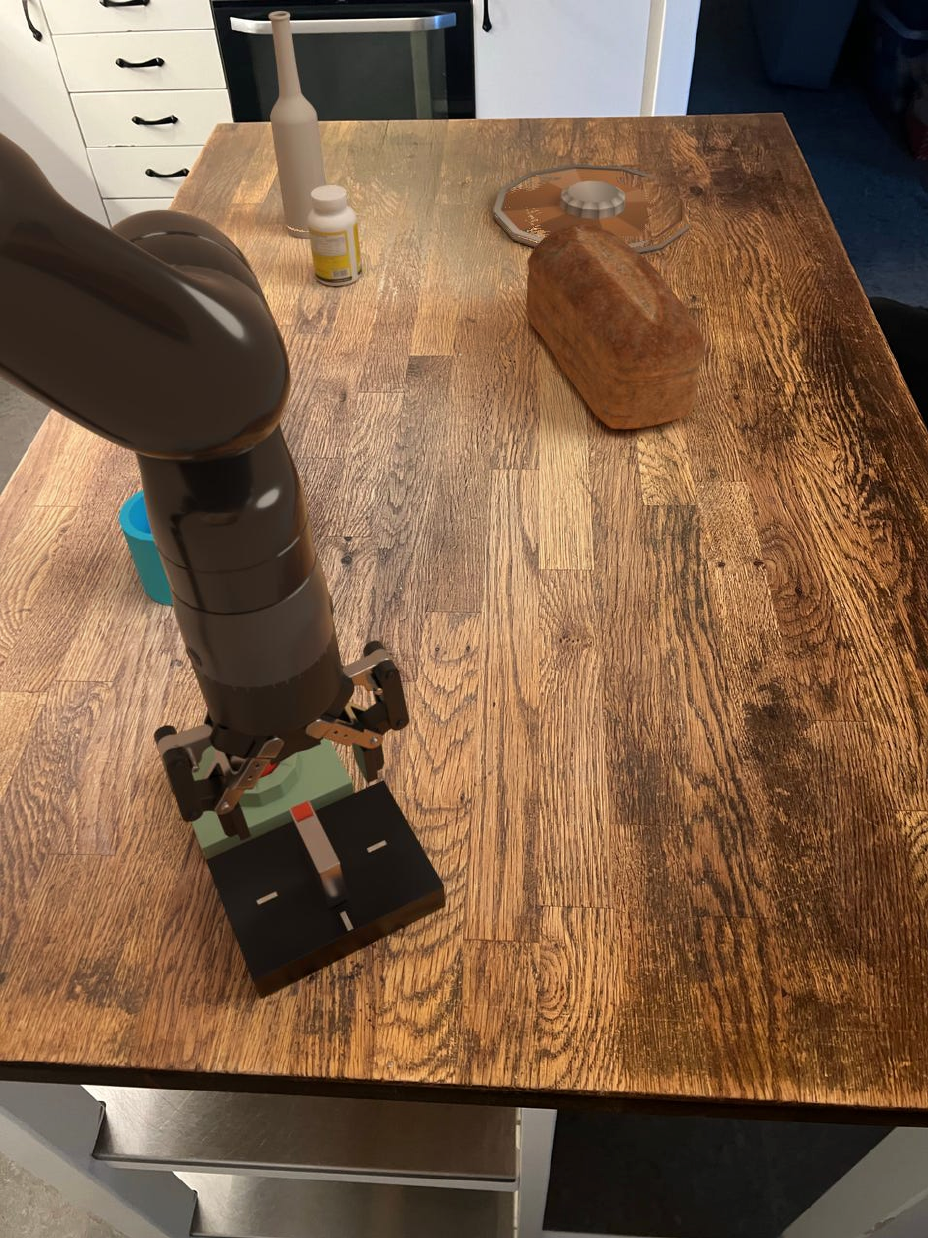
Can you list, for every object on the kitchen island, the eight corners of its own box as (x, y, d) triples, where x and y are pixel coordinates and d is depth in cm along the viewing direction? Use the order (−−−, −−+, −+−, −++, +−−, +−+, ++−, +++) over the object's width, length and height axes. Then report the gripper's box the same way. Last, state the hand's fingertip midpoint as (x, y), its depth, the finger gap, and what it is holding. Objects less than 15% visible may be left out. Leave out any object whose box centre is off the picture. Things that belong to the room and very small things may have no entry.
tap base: (260, 1000, 64) (252, 980, 62) (214, 880, 70) (204, 858, 68) (445, 906, 69) (444, 885, 66) (386, 801, 75) (383, 778, 73)
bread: (606, 449, 105) (618, 338, 95) (514, 312, 125) (516, 210, 115) (707, 428, 107) (729, 318, 97) (600, 297, 128) (610, 195, 118)
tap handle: (348, 899, 66) (340, 861, 62) (328, 909, 65) (318, 871, 62) (318, 837, 69) (308, 797, 65) (298, 846, 69) (287, 807, 65)
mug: (125, 594, 91) (100, 529, 85) (170, 539, 96) (149, 474, 90) (238, 623, 88) (220, 558, 82) (278, 565, 93) (264, 499, 87)
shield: (459, 215, 138) (535, 139, 156) (460, 237, 140) (535, 160, 159) (663, 253, 129) (717, 168, 148) (659, 276, 131) (714, 189, 150)
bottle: (278, 228, 144) (243, 13, 123) (313, 214, 147) (285, 3, 126) (304, 242, 140) (273, 24, 120) (340, 228, 143) (315, 13, 123)
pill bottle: (349, 261, 136) (340, 177, 127) (370, 279, 132) (362, 194, 124) (307, 273, 134) (295, 189, 125) (327, 292, 130) (316, 207, 121)
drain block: (207, 864, 71) (195, 836, 68) (173, 775, 77) (160, 745, 74) (355, 797, 75) (350, 768, 72) (312, 717, 81) (305, 686, 78)
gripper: (357, 536, 53) (382, 714, 65) (101, 629, 49) (178, 801, 61) (417, 622, 49) (432, 796, 61) (141, 734, 44) (215, 898, 56)
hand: (305, 799), depth 61 cm, fingers open, 8 cm apart
